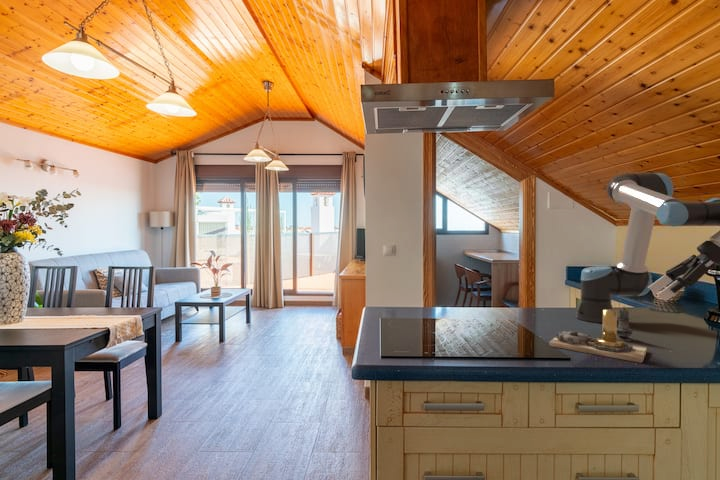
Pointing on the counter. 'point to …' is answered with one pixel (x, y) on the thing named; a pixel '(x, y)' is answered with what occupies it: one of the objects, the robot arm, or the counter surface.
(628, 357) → the gear board
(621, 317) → the stone chess piece
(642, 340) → the counter surface
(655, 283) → the robot arm
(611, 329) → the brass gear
